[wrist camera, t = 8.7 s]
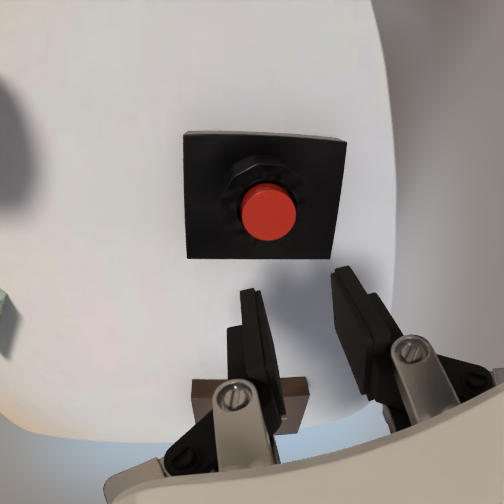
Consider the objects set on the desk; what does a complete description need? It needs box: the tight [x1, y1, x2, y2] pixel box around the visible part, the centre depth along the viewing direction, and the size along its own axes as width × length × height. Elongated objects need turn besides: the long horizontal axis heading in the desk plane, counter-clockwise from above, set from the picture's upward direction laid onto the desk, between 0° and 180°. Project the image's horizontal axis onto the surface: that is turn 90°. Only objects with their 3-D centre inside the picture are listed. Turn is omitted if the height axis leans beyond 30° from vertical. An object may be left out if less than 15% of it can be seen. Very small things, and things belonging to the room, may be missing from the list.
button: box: [241, 183, 296, 241], centre depth 21 cm, size 4×4×2 cm
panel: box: [191, 377, 310, 435], centre depth 37 cm, size 14×10×3 cm
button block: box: [183, 131, 347, 259], centre depth 23 cm, size 12×10×4 cm
